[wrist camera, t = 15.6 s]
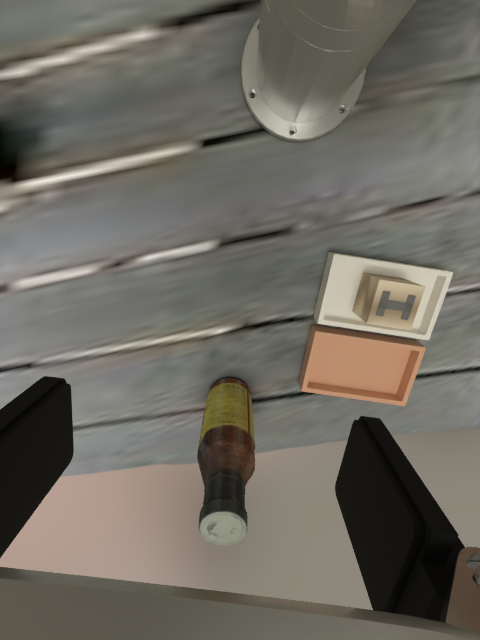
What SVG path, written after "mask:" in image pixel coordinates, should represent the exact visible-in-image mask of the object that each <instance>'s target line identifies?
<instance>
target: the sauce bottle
mask: <svg viewBox="0 0 480 640" xmlns="http://www.w3.org/2000/svg"><path fill="white" fill-rule="evenodd" d="M254 450H255V440H254V426H253V411H252V398H251V395H250V392H249V390H248V387H247V386H246V384H244V383H243V382H242V381H240V380H237V379H234V378H224V379H221V380H219V381H217V382H216V383H214V384H213V386H212V387H211V389H210V392H209V394H208V396H207V399H206V406H205V412H204V417H203V423H202V429H201V436H200V441H199V447H198V455H197V456H198V463H199V467H200V471H201V475H202V479H203V483H204V487H205V489H204V491H205V495H204V502H203V507H202V509H201V512H200V518H199V519H200V520H199V530H200V533H201V535H202V536H203V538H204V539H205V540H206V541H208V542H209V543H212V544H215V545H232V544H235V543H237V542H239V541H240V540H241V539H243V537H244V536H245V534H246V532H247V512H246V510H245V501H244V500H245V497H244V495H245V486H246V483H247V482H248V480H249V479H250V478H251V476H252V474H253V472H254V470H255V468H254V467H255V455H254Z"/></svg>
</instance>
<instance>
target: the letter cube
mask: <svg viewBox="0 0 480 640" xmlns="http://www.w3.org/2000/svg"><path fill="white" fill-rule="evenodd" d="M424 290H425V286H423V285H420V284H417V283H414V282H412V281H409V280H406V279H404V278H398V277H392V276H385V275H379V274H373V273H366V272H363V273H362V277H361V281H360V284H359V288H358V292H357V295H356V299H355V303H354V306H353V310H352V311H353V312H354V313H355V314H356V315H357V316H358V317H360V318H361V319H362V320H363V321H364V322H365V323H367V324H373V325H379V326H386V327H392V328H399V329H405V330H411V328H412V325H413V322H414V319H415V316H416V313H417V310H418V307H419V304H420V302H421V299H422V296H423V293H424Z"/></svg>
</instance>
